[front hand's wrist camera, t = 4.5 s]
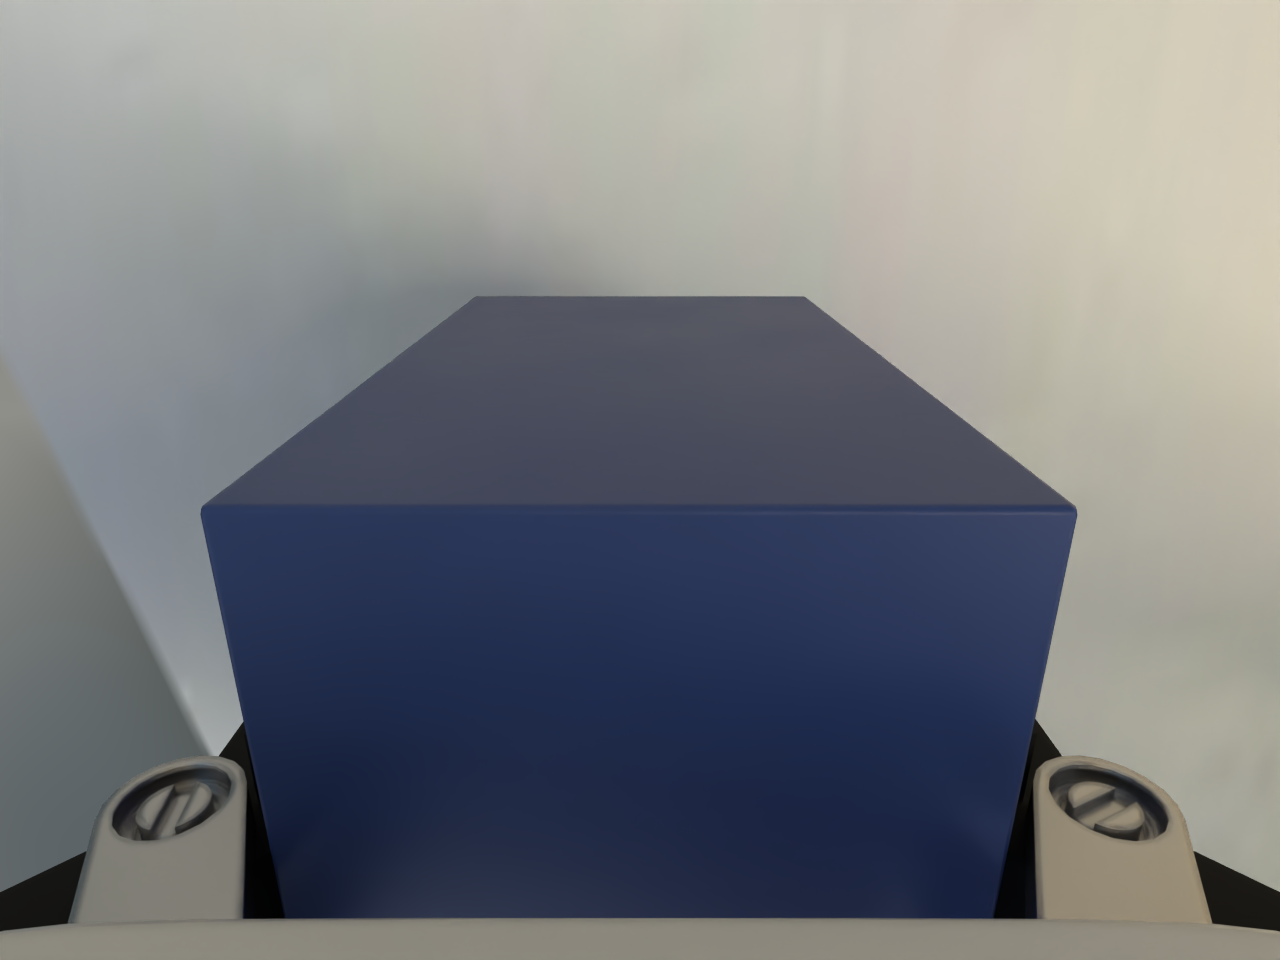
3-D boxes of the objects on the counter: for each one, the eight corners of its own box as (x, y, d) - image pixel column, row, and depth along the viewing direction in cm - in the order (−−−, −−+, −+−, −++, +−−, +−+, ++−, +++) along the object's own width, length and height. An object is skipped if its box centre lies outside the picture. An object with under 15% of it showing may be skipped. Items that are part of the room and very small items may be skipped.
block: (806, 296, 15) (1082, 507, 6) (777, 692, 18) (926, 1257, 9) (473, 296, 15) (194, 507, 6) (502, 692, 18) (352, 1255, 9)
